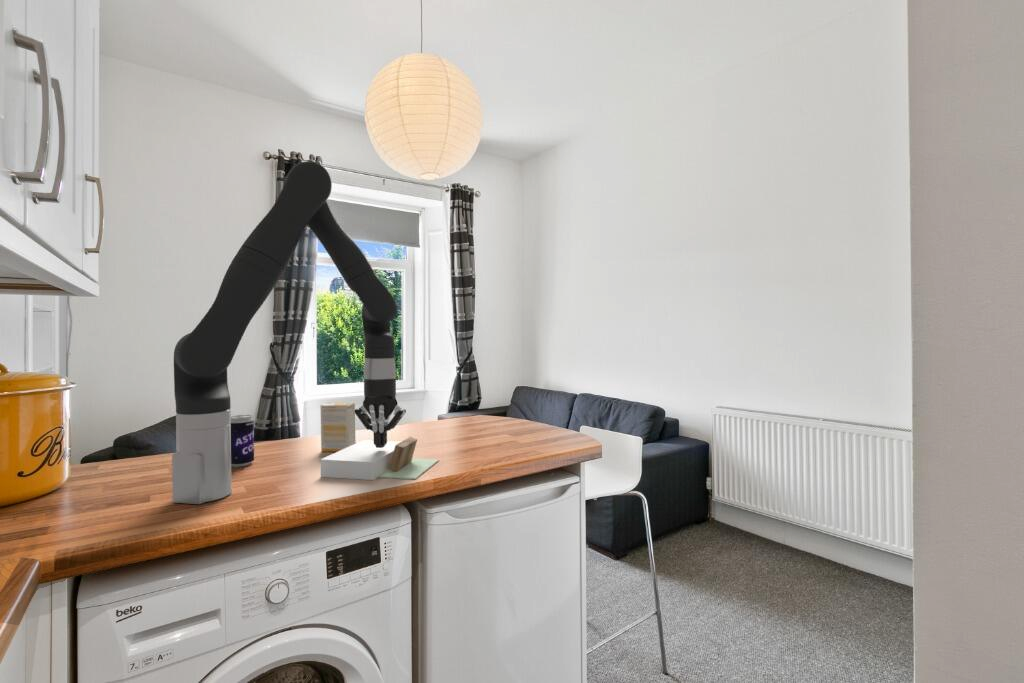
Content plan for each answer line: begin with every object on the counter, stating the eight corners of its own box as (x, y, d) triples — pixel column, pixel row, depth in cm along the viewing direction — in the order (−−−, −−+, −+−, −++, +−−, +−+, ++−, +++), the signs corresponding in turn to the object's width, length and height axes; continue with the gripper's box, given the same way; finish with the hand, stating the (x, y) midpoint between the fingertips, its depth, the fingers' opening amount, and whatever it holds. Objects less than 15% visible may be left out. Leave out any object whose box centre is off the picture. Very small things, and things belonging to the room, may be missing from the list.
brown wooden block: (388, 469, 113) (396, 472, 113) (395, 445, 112) (403, 447, 112) (403, 459, 122) (411, 461, 121) (410, 436, 121) (417, 439, 121)
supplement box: (356, 448, 137) (356, 402, 137) (349, 452, 132) (348, 405, 132) (328, 447, 138) (328, 402, 138) (320, 451, 133) (319, 404, 133)
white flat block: (373, 480, 108) (373, 462, 107) (320, 476, 110) (320, 459, 110) (408, 457, 127) (408, 442, 127) (363, 454, 130) (363, 440, 129)
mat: (415, 479, 108) (415, 478, 108) (377, 477, 109) (377, 476, 109) (438, 460, 124) (438, 459, 124) (405, 459, 125) (405, 457, 125)
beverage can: (234, 468, 116) (233, 419, 116) (224, 465, 120) (223, 417, 120) (258, 463, 121) (257, 416, 121) (247, 460, 124) (247, 413, 124)
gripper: (347, 377, 115) (347, 449, 115) (399, 378, 113) (399, 452, 113) (362, 374, 122) (362, 442, 123) (411, 375, 120) (411, 444, 121)
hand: (380, 447), depth 118 cm, fingers closed
